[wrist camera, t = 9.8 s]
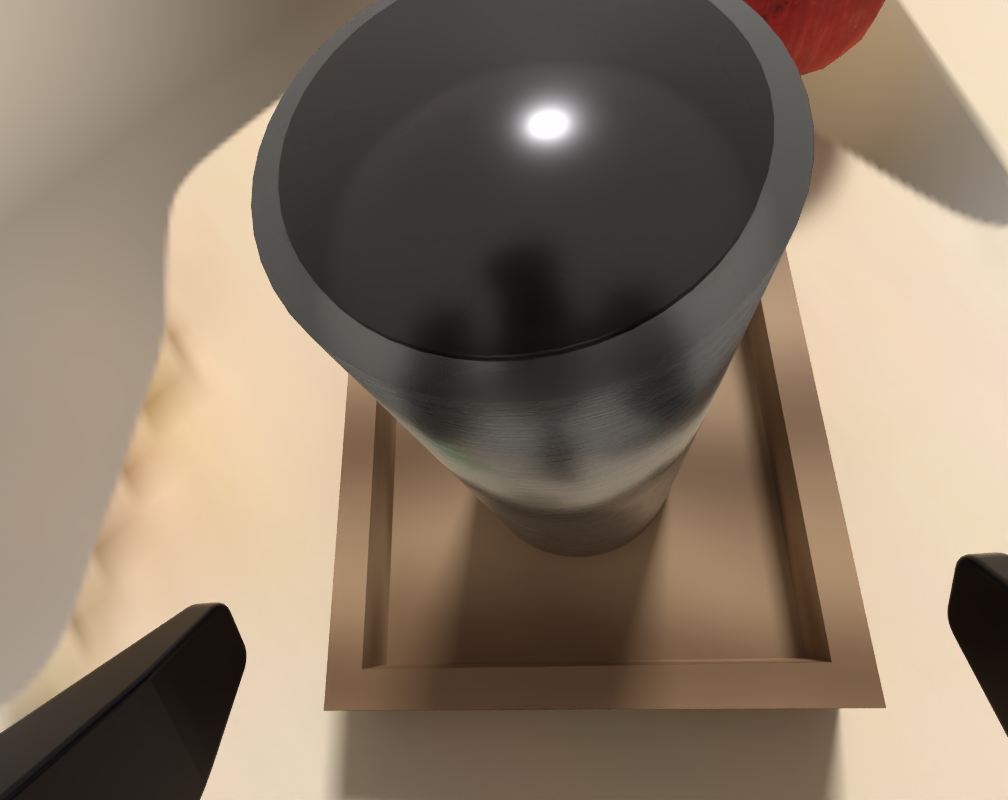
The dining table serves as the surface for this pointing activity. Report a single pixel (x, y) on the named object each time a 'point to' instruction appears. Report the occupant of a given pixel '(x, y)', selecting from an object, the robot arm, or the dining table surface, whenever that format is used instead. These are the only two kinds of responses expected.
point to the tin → (538, 234)
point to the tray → (611, 570)
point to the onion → (817, 27)
